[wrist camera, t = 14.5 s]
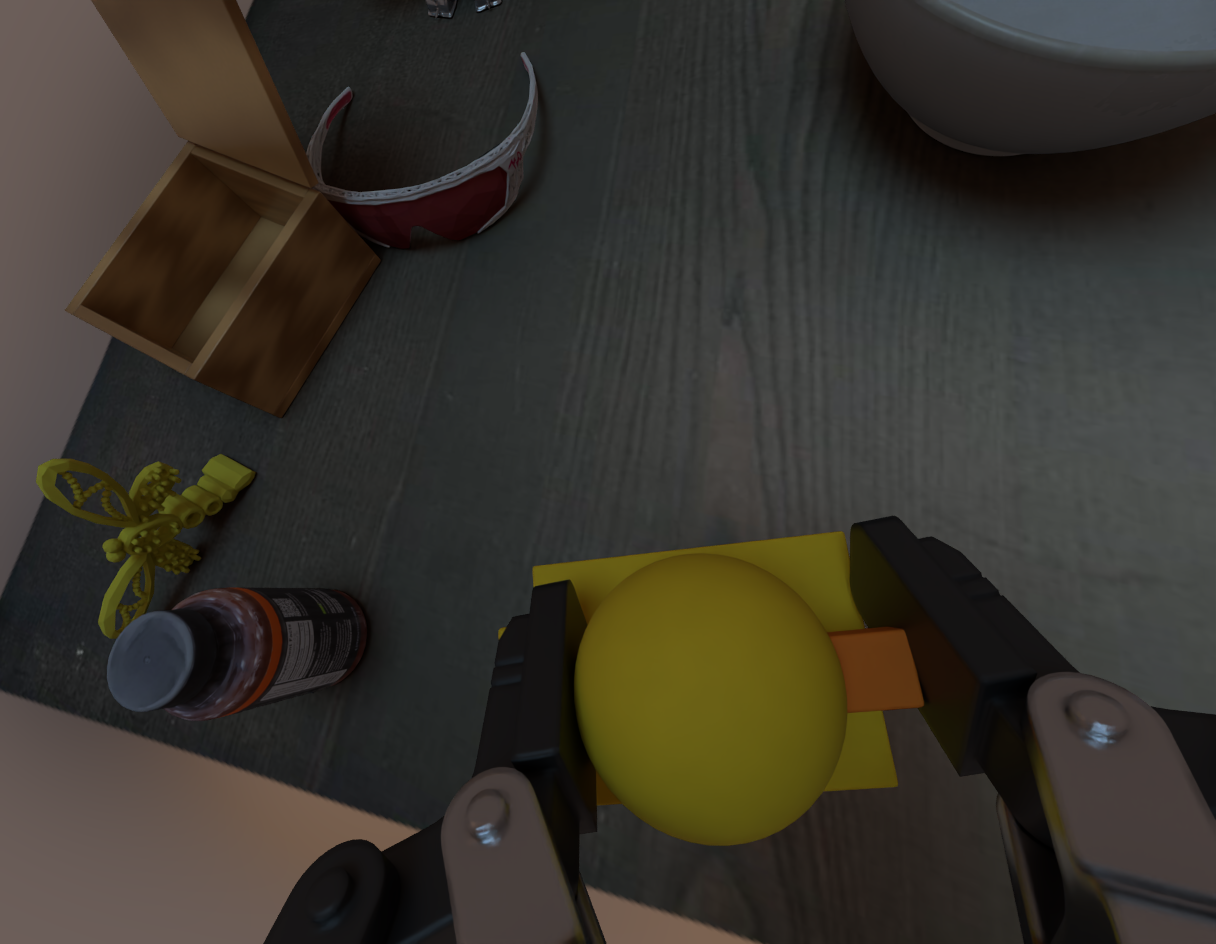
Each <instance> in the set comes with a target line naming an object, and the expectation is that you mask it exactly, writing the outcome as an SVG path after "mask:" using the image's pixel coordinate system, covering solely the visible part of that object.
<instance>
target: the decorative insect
mask: <svg viewBox="0 0 1216 944" xmlns="http://www.w3.org/2000/svg"><path fill="white" fill-rule="evenodd" d="M69 470H71V471H77V472H82V473H88V474H91V475H93V476H95V477H97V478H99V479H101V480H103V481H101V482H100V483H96V484H95V485H94V486H92V487H89V489H88V491H87V490H86V491H84V492H83V490H82V489H81V488H80V484H79V483H76V482H77V479H76V478H74V477H72V474H71V473H69V472H67V473H66V471H69ZM202 472H203V473H204V475H205V476H203V477H201V478H200V480H199V482H198V483H197V485H198V486H196V485H194V486H191V487H188V488H187V489H186V490H185V491H184V492H183V493H182V494H181V496H180V495H178V494H176V492H174V491H172V490H171V489H172V487H173V485H174V484H175V482H177V483H180V482H181V479H180V478H178V477H176V476H174V475H177V474H179V470H176V469H173V467H171V466H169V465H167V464H164V463H161V462H156V463H153V464H151V465H149V466H147V467H145V468H144V469H143V470H142V471H141V472H140V473H139V475H138V476H137V477H136V479H135V481H134V483H133V485H132V487H131V490H130V492H129V495H128V493H127V492H126V491H125V489H124V488H123V487H122V486H121V485H120V484H118V483H117V482H116V481H115V480H114V479H113V478H111V477H110V476H109V475H108V474H106V473H105V472H103V471H101V470H99V469H97V468H96V467H94V466H92V465H90V464H88V463H84V462H81V461H77V460H73V459H52V460H50V461H48V462H46V463H44V464H41V465H39V466H38V472H37V478H36V483H37V484H38V486H39V487H40V489H41V491H42V492H43V494H44V495H45V497H46V498H47V499H49V500H50V501H52V502H54V503H55V504H57V505H58V506H60V507H61V508H63V509H64V510H66V511H67V512H69V513H71V514H72V515H75V516H78V517H80V518H83V519H86V520H89V521H92V522H94V523H98V524H104V525H110V526H116V527H122V528H123V527H126V528H125V529H123V530H122V531H121V533H120V535H119V537H118V539H109V540H106V541H105V542H104V543H103V549H104V551H105V552H107V554H106V557H107V559H108V560H109V561H111V562H119V561H122V560H123V559H124V558H125V556H126V553H128V554H130V555H131V557H130V558H129V559H128V560H127V561H126V563H125V564H124V565H123V566H122V567H121V569H120V570H119V572H118V574H117V575H116V577H115V579H114V580H113V582H112V584H111V585H110V587H109V589H108V591H107V592H106V594H105V596H104V600H103V604H102V608H101V612H100V616H99V620H98V623H99V626H100V628H101V630H102V632H103V634H104V635H106V636H107V637H109V638H110V639H113V638H117V637H118V636H119V635H120V633H121V632H122V631H123V630H124V629H125V627H126V626H127V625H129V624H130V623H131V622H132V621H133V620H135V619H136V618H138V617H139V616H141V615H144V614H146V612H147V609H148V607H149V604H150V602H151V599H152V597H153V594H154V578H155V565H156V566H159V567H162V568H164V569H165V570H166V571H168V572H169V571H171V570H172V571H173V572H174V573H175V574H176V575H177V574H179V573H180V571H182V572H185V573H188V572H189V571H190V569H189V568H188V566H189V565H191V564H192V563H193V561H194V560H197V561H199V560H200V559H201V557H200V556H197V555H196V554H198V553H199V550H196V549H193V548H192V547H191V546H189V545H188V544H185V543H183V542H180V541H178V540H175V539H173V538H174V537H175V536H176V535H177V534H179V533H180V532H181V529H182V527H184V528H186V529H189V528H193V527H196V526H198V525H199V524H200V523H201V522H202V521H203V519H204V517H205V515H209V516H210V515H214V514H216V513H217V512H219V511H220V510H221V509H222V506H223V502H225V503H227V502H231V501H234V499H235V497H236V496H237V494H238V492H239V491H240V490H242V489H243V488H245V487H246V486H248V485H249V484H250V483H251V481H252V480H253V478H254V476H255V473H256V472H254V471H252V470H250V469H249V468H247V467H245V466H243V465H241V464H239V463H237V462H236V461H234V460H232V459H230V458H228V457H226V456H225V455H222V454H220V455H218V456H216V457H213V458H211V460H210V461H209V462H208V463H207V464H206V466H205V467H204V468H203V469H202ZM57 473H58V474H60V475H62V478H64V479H67V482H68V483H69V484H72V485H71V488H72V489H73V493H74V494H75V496H74V498H75V499H76V500H77V501H75V502H74V504H73V505H72V504H71V503H70V502H69V501H68V500H67V499H66V498H65V497H64V495H63V494H62V493H61V492H60V491H59V490H58V489H57V488H56V487H55V486H54V485H55V480H56V476H57ZM160 473H161V474H160ZM149 481H151V482H152V483H150V484H149V485H147V483H148V482H149ZM103 487H105V491H104V492H103V493H102V495H103V496H104V497H103V498H101V502H103V503H102V506H103V507H104V508H105V511H107V512H108V514H110V515H112V517H104V516H101V515H98V514H94V513H91V512H88V511H84V510H81V506H82V505H83V502H85V501H86V500H87V497H90V496H91V494H92V493H95V492H97V490H100V489H103ZM106 490H107V491H106ZM111 490H113V491H114V492H115V493H116V494H117V495H118V497H119V499H120V501H121V503H122V506H123V508H124V510H125V512H126V514H127V516H128V517H127V516H124V515H123V514H120V513H119V512H117V510H116V509H114V507H113V506H111V503H110V502H109V501H110V498H109V496H111V492H110V491H111ZM142 495H145V496H142ZM156 509H158V511H159V513H160V514H158V513H157V514H154V515H151V516H149V515H150V514H151V513H153V512H154V511H155V510H156ZM113 517H114V518H113ZM159 527H160V528H159ZM158 528H159V529H158ZM157 529H158V530H157ZM140 536H141V538H138V537H140ZM142 566H143V568H144V573H145V578H146V582H145V591H144V592H142V591H141V588H140V587H139V586H140V583H139V581H140V580H141V579H140V578H139V577H140V576H141V573H140V572H141V571H142V568H141V567H142ZM132 577H134V578H133V579H132ZM131 579H132V581H133V582H134V583H133V584H132V586H133V587H134V588H133V592H135V595H136V596H139V597H142V599H141V600H140V601H138V602H137V603H135V604H133V605H129V606H127V605H123V604H121V603H119V602H120V600H121V598H122V596H123V594H124V592H125V589H126V587H127V585H128V583H129V581H130V580H131ZM116 609H120V611H119V613H120V614H122V617H123V624H122V627H121V628H120V629H119V630H118V631H116V630H115V612H116ZM133 609H138V610H137V611H136V613H135V615H134V617H133V619H131V620H130V618H131V617H130V615H129V614H130V613H129V612H128V611H132V610H133Z"/></svg>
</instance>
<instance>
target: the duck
mask: <svg viewBox="0 0 1216 944" xmlns="http://www.w3.org/2000/svg"><path fill="white" fill-rule="evenodd" d="M568 579H570V580H571V581H572V583H573V586H574V588H575V591H576V594H577V597H578V599H579V602H580V605H581V608H582V611H583V614H584V616H585V619H586V622H587V625H588V626H587V628H586V630H585V632H584V635H583V638H582V640H581V643H580V646H579V650H578V655H577V659H576V665H575V674H574V704H575V711H576V718H577V723H578V727H579V731H580V735H581V739H582V741H583V744H584V746H585V749H586V751H587V754H588V756H589V758H590V760H591V762H592V764H593V766H594V767H595V769H596V792H597V805H610V804H623V805H624V806H625V807H626V808H628V809H629V810H630V811H631V812H632V813H633V814H635V815H636V816H637V817H638V818H640V819H641V820H643V821H644V822H646V823H647V824H649V825H650V826H652V827H653V828H655V829H657V830H659V831H661V832H664V833H666V834H668V835H670V836H672V837H675V838H678V839H682V840H685V841H688V842H692V843H698V844H704V845H718V846H729V845H737V844H745V843H749V842H752V841H756V840H759V839H763V838H765V837H768V836H770V835H772V834H774V833H776V832H778V831H781V830H782V829H784V828H785V827H787V826H788V825H790V824H791V823H793V822H794V821H796V820H797V819H798V818H799V817H800V816H801V815H803V814H804V813H805V812H806V811H807V810H808V809H809V808H810V807H811V806H812V805H813V804H814V802H815V801H816V800H817V799H818V797H819V796H820V795H821V794H822V792H823V791H837V790H854V789H870V788H886V787H896V786H898V780H897V776H896V771H895V766H894V762H893V757H892V752H891V748H890V743H889V738H888V734H887V729H886V725H885V720H884V715H883V711H882V710H895V709H908V708H920V707H923V706H924V699H923V695H922V691H921V686H920V682H919V678H918V674H917V670H916V666H915V662H914V659H913V656H912V653H911V649H910V646H909V643H908V640H907V636H906V633H905V631H904V630H903V629H900V628H893V627H877V628H867V629H865V627H864V623H863V618H862V616H861V615H860V613H859V611H858V609H857V607H856V605H855V602H854V600H853V596H852V593H851V588H850V558H849V553H848V548H847V544H846V539H845V534H844V533H843V532H841V531H839V532H830V533H821V534H812V535H804V536H795V537H786V538H777V539H769V540H760V541H751V542H742V543H733V544H725V545H716V546H707V547H698V548H689V549H681V550H672V551H663V552H654V553H645V554H637V555H628V556H619V557H610V558H602V559H593V560H584V561H575V562H566V563H558V564H549V565H540V566H534V567H533V584H534V587H535V586H538V585H543V584H548V583H553V582H558V581H563V580H568ZM505 629H506V627H503V628H501V629H499V632H498V635H499V639H500V637H501V635H502V634H503V632H504V630H505Z"/></svg>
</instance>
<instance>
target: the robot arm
mask: <svg viewBox="0 0 1216 944" xmlns="http://www.w3.org/2000/svg"><path fill="white" fill-rule="evenodd" d="M850 588H851V593H852V596H853V600H854V602H855V605H856V607H857V609H858V611H859V613H860V615H861V616H862V618H863V620H864V621H865V623H866V625H867V626H868V628H877V627H893V628H900V629H903V630H904V631H905V633H906V636H907V640H908V643H909V646H910V649H911V653H912V656H913V659H914V662H915V666H916V670H917V674H918V678H919V682H920V686H921V691H922V695H923V699H924V706H923V707H920V708H918V709H919V711H920V713H921V714H922V716H923V717H924V719H925V721H926V722H927V724H928V726H929V727H930V729H931V730H932V732H933V734H934V735H935V737H936V739H937V740H938V742H939V743H940V745H941V747H942V748H943V750H944V752H945V753H946V755H947V756H948V758H949V760H950V761H951V763H952V765H953V766H954V768H955V769H956V771H957V773H958V774H959V776H960V777H962V776H968V775H975V774H981V773H985V774H986V775H987V777H988V778H989V780H990V781H991V783H992V784H993V786H994V787H995V789H996V790H997V792H998V794H997V798H996V810H997V816H998V820H999V825H1000V830H1001V835H1002V840H1003V845H1004V849H1005V854H1006V859H1007V864H1008V869H1009V874H1010V878H1011V883H1012V888H1013V893H1014V898H1015V903H1016V907H1017V912H1018V917H1019V922H1020V927H1021V932H1022V936H1023V941H1024V944H1216V715H1214V714H1205V713H1196V712H1187V711H1178V710H1169V709H1163V708H1156V707H1152V706H1149V705H1148V704H1147V703H1146V702H1144V701H1143V700H1142V699H1140V698H1139V697H1138V696H1136V695H1135V694H1133V693H1131V692H1130V691H1128V690H1126V689H1125V688H1122V687H1120V686H1118V685H1116V684H1114V683H1112V682H1109V681H1107V680H1104V679H1102V678H1098V677H1095V676H1091V675H1087V674H1082V673H1080V672H1078V671H1077V670H1076V669H1075V668H1074V667H1073V666H1072V665H1071V664H1070V663H1069V662H1068V661H1067V660H1066V659H1065V658H1064V657H1063V656H1062V655H1061V654H1060V653H1059V652H1058V651H1057V650H1056V649H1055V648H1054V647H1053V646H1052V645H1051V644H1050V643H1049V642H1048V641H1047V640H1046V639H1045V638H1044V637H1043V636H1042V635H1041V634H1040V633H1039V631H1038V630H1037V629H1036V628H1035V627H1034V626H1033V625H1032V624H1031V623H1030V622H1029V621H1028V620H1027V619H1026V618H1025V617H1024V616H1023V615H1022V614H1021V613H1020V612H1019V611H1018V610H1017V609H1016V608H1015V607H1014V606H1013V605H1012V604H1011V603H1010V602H1009V601H1008V600H1007V599H1006V598H1005V597H1004V596H1001V595H1000V594H999V591H998V590H997V589H996V588H995V586H994V585H993V584H992V583H991V582H990V581H989V580H988V579H987V578H986V577H985V578H983V577H982V575H981V572H980V571H979V570H978V569H977V568H976V567H975V566H974V565H973V564H972V563H971V562H970V561H969V560H968V559H967V558H966V557H965V556H964V555H963V554H962V553H961V552H960V551H958V550H956V549H954V548H952V547H951V546H949V545H947V544H945V543H943V542H941V541H940V540H938V539H936V538H934V537H932V536H931V537H926V538H921V539H917V537H916V536H915V535H914V534H913V533H912V532H911V531H910V530H909V529H908V527H907V526H906V525H905V524H904V523H903V522H902V521H901V520H900V519H899V518H898V517H896V516H889V517H884V518H879V519H874V520H869V521H864V522H859V523H854V524H853V525H852V527H851V532H850ZM587 626H588V625H587V622H586V619H585V616H584V614H583V611H582V608H581V605H580V602H579V599H578V597H577V594H576V591H575V588H574V586H573V583H572V581H571V580H570V579H568V580H563V581H558V582H553V583H548V584H543V585H538V586H535V587H534V588H533V591H532V598H531V606H530V614H525V615H520V616H515V617H512V619H511V621H510V622H509V624H508V626H507V627H506V629H505V630H504V632H503V634H502V635H501V637H500V639H499V642H498V648H497V653H496V658H495V668H494V669H493V675H492V680H491V685H492V687H491V688H490V691H489V696H488V701H487V707H486V712H485V718H484V723H483V728H482V734H481V739H480V744H479V750H478V755H477V761H476V766H475V770H474V773H473V776H472V778H471V779H470V780H469V781H468V782H467V783H466V784H465V785H464V786H463V787H462V788H461V789H460V790H459V791H458V792H457V794H456V795H455V797H454V798H453V800H452V801H451V803H450V805H449V807H448V809H447V811H446V814H445V816H443V817H442V818H441V819H439V820H438V821H437V822H435V823H434V824H432V825H430V826H429V827H427V828H425V829H423V830H421V831H420V832H418V833H416V834H414V835H412V836H410V837H408V838H407V839H405V840H403V841H401V842H399V843H397V844H395V845H393V846H391V847H389V848H388V849H386V850H384V851H382V852H381V851H380V850H379V849H378V848H377V847H376V846H375V845H374V844H373V843H371V842H369V841H367V840H361V839H359V840H350V841H346V842H343V843H341V844H339V845H336V846H335V847H333V848H331V849H330V850H328V851H327V852H325V853H324V854H323V855H322V856H320V857H319V858H318V859H317V860H316V861H315V862H314V863H313V864H312V865H311V866H310V867H309V868H308V869H307V870H306V872H305V873H304V874H303V875H302V876H301V878H300V879H299V880H298V882H297V884H296V885H295V887H294V888H293V890H292V892H291V893H290V895H289V897H288V899H287V901H286V902H285V904H284V906H283V908H282V910H281V912H280V914H279V915H278V917H277V919H276V921H275V923H274V925H273V927H272V928H271V930H270V932H269V934H268V936H267V938H266V940H265V942H264V943H263V944H606V941H605V938H604V935H603V933H602V930H601V927H600V925H599V922H598V919H597V916H596V914H595V911H594V909H593V906H592V903H591V900H590V897H589V895H588V892H587V889H586V887H585V884H584V881H583V878H582V876H581V873H580V871H579V834H585V833H591V832H597V792H596V769H595V767H594V766H593V764H592V762H591V760H590V758H589V756H588V754H587V751H586V749H585V746H584V744H583V741H582V739H581V735H580V731H579V727H578V723H577V718H576V711H575V704H574V674H575V665H576V659H577V655H578V650H579V646H580V643H581V640H582V638H583V635H584V632H585V630H586V628H587Z"/></svg>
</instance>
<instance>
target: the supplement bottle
mask: <svg viewBox="0 0 1216 944" xmlns="http://www.w3.org/2000/svg"><path fill="white" fill-rule="evenodd" d="M366 639H367V625H366V620H365V617H364V615H363V612H362V610H361V608H360V606H359V605H358V604H357V603H356V601H354V600H353V599H352V598H351V597H350V596H348V595H347V594H345V593H343V592H341V591H337V590H331V589H321V588H316V589H315V588H218V589H210V590H205V591H202V592H199V593H196V594H194V595H192V596H190V597H188V598H186V599H185V600H183V601H182V602H180V603H179V604H177V605H176V606H175V607H174V608H173V609H172V610H160V611H153V612H149V613H147V614H144V615H141V616H139V617H138V618H136V619H135V620H133V621H132V622H131V623H130V624H129V625H127V626H126V627H125V629H124V630H123V631H122V632H121V633H120V635H119V636H118V637H117V639H116V641H115V643H114V645H113V648H112V650H111V653H110V656H109V658H108V666H107V681H108V684H109V688H110V691H111V693H112V694H113V696H114V698H115V699H116V700H117V701H118V703H120V704H121V705H122V706H124V707H125V708H127V709H130V710H133V711H138V712H146V711H153V710H159V709H164V710H166V711H167V712H169V713H170V714H172V715H174V716H177V717H179V718H182V719H185V720H191V721H205V720H211V719H215V718H219V717H223V716H226V715H230V714H236V713H239V712H242V711H245V710H250V709H253V708H256V707H260V706H264V705H267V704H271V703H275V702H278V701H282V700H285V699H289V698H293V697H296V696H300V695H304V694H307V693H314V692H315V691H319V690H322V689H325V688H327V687H330V686H333V685H335V684H337V683H338V682H340V681H342V680H343V679H344V678H346V677H347V676H348V675H349V674H350V673H351V672H352V671H353V670H354V669H355V667H356V666H357V664H358V663H359V661H360V659H361V657H362V655H363V652H364V649H365V646H366Z"/></svg>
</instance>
